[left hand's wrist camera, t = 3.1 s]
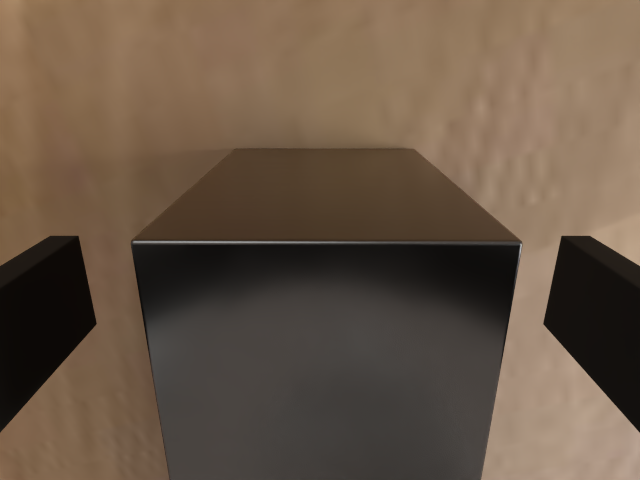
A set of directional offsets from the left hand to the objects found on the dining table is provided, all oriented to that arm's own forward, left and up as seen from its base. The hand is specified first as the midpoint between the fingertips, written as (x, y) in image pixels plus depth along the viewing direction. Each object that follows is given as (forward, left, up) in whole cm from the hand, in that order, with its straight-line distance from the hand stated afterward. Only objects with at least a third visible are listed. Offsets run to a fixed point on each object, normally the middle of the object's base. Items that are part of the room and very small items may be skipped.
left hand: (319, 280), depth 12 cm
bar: (+9, +3, -3) cm, 10 cm away
